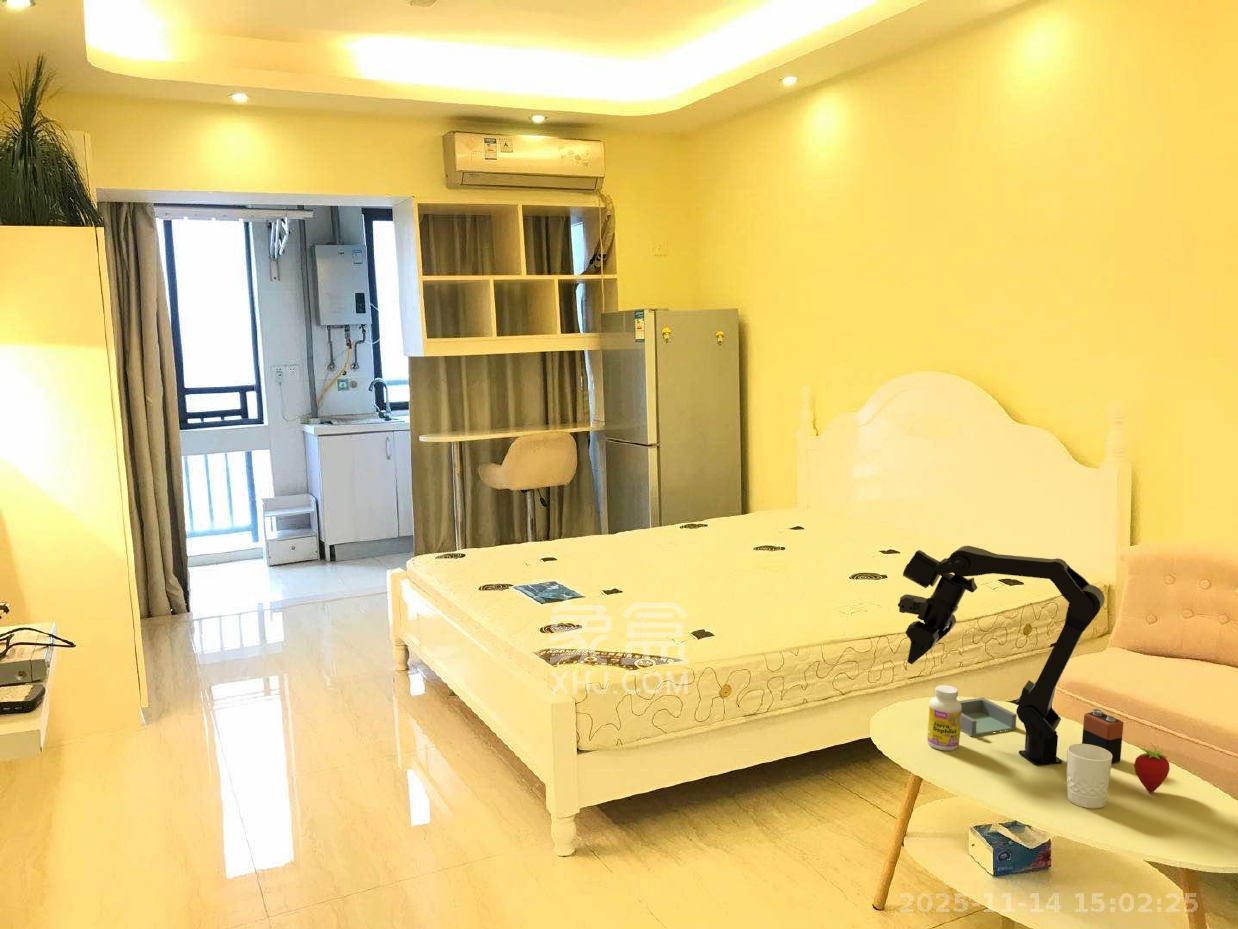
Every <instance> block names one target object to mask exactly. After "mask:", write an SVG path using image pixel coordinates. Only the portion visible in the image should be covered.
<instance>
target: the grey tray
mask: <svg viewBox="0 0 1238 929" xmlns="http://www.w3.org/2000/svg"><path fill="white" fill-rule="evenodd" d="M958 701H959V702H960V703H961V706H962V711H961V725H960V730H962V731H963V732H962V731H961V732H962V733H964V734H965V733H966V734H965V735H967V734H968V735H967V736H969V737H971V736H974V737H978V736H977V735H980V736H984V735H983V734H986V735H990V734H989V733H992V734H994V733H993V732H998V733H1001V732H1000V731H1004V732H1008V731H1007V730H1010V731H1015V730H1016V726H1017V717H1018V715H1017V713H1015V712H1013V711H1010V710H1008V709H1006V708H1005V707H1003V706H1001V705H999V704H996V703H995V702H992V701H990V700H988V699H986V698H985V697H977V698H971V699H964V700H963V699H961V700H958ZM1005 730H1006V731H1005Z"/></svg>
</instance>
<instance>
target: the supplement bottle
mask: <svg viewBox="0 0 1238 929" xmlns="http://www.w3.org/2000/svg"><path fill="white" fill-rule="evenodd" d="M934 689H935V690H934V691H935V692H934V694H935V696H934V697H932V698H931V700H930V701H929V706H928V707H929V710H928V724H927V726H928V727H927V735H926V736H927V738H926V740H927V744H928V745H929V746H930V747H931V748H934V749H936V750H939V751H954V750H957V749H958V748H959V745H960V736H961V731H960V725H961V711H962V706H961V703H960V702H959V701H960V700H958V699H957V698H958V696H959V690H958V688H956V687H955V686H950V685H945V684H944V685H942V684H941V685H937V686H936V687H935V688H934Z"/></svg>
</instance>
